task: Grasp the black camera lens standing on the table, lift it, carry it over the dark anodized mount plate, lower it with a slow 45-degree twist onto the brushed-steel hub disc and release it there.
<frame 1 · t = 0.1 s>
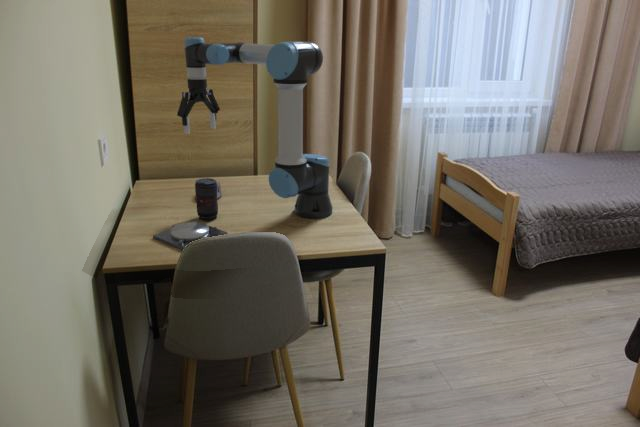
hand: (200, 131, 212), 28 cm above the table, fingers open, 13 cm apart
caster wheel: (210, 197, 220), on the table
camera lens: (208, 218, 196), on the table
mount board: (190, 237, 179), on the table
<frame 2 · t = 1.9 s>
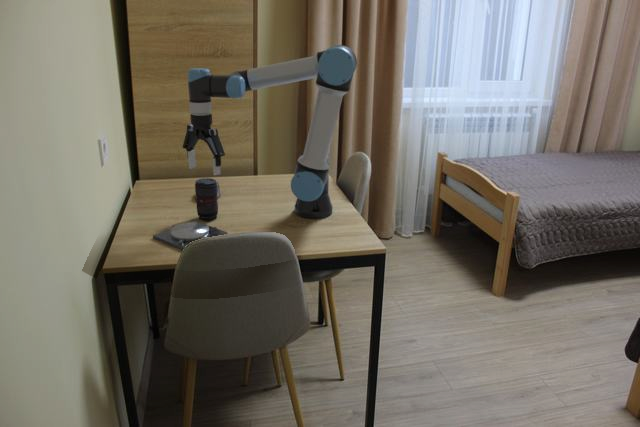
hand: (204, 171, 190), 19 cm above the table, fingers open, 13 cm apart
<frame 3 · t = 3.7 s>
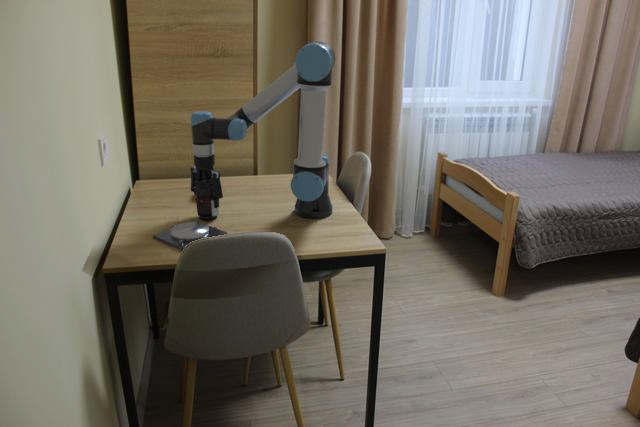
hand: (207, 212, 195), 2 cm above the table, fingers closed on camera lens, 8 cm apart
camera lens: (208, 218, 196), on the table, touching gripper
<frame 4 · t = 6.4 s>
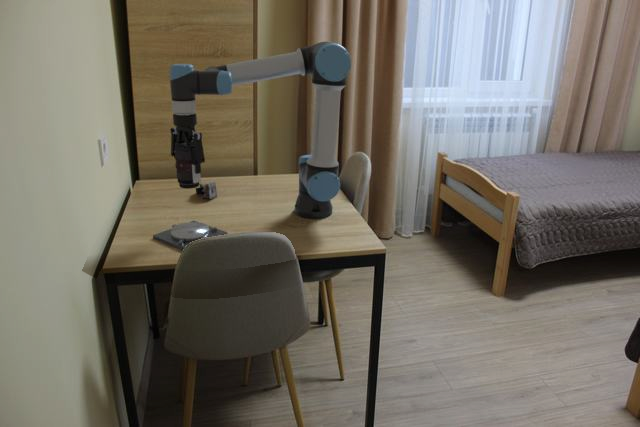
hand: (189, 179, 176), 20 cm above the table, fingers closed on camera lens, 8 cm apart
camera lens: (189, 186, 177), point 17 cm above the table, touching gripper
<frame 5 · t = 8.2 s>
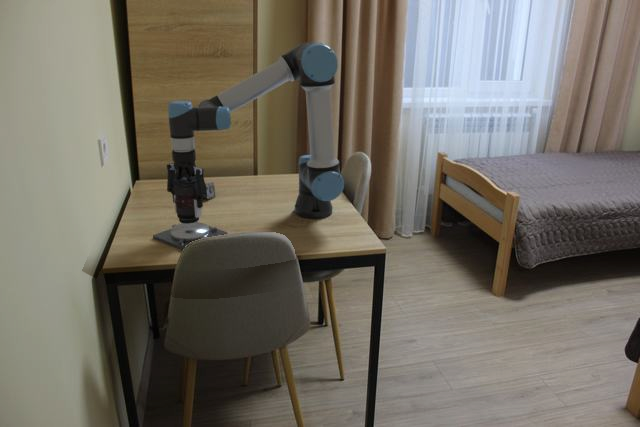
hand: (188, 214, 176), 9 cm above the table, fingers closed on camera lens, 8 cm apart
camera lens: (189, 220, 177), point 6 cm above the table, touching gripper
when the fingers open (6 cm above the table, at t = 9.2 s): camera lens stays where it is, resting on mount board.
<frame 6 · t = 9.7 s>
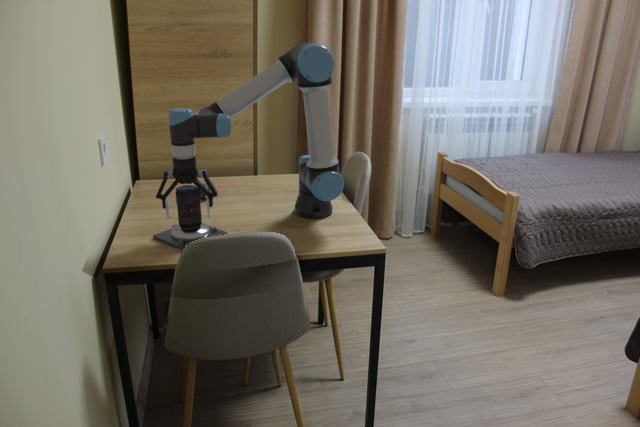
hand: (188, 216, 176), 8 cm above the table, fingers open, 13 cm apart
camera lens: (191, 229, 178), point 3 cm above the table, touching mount board
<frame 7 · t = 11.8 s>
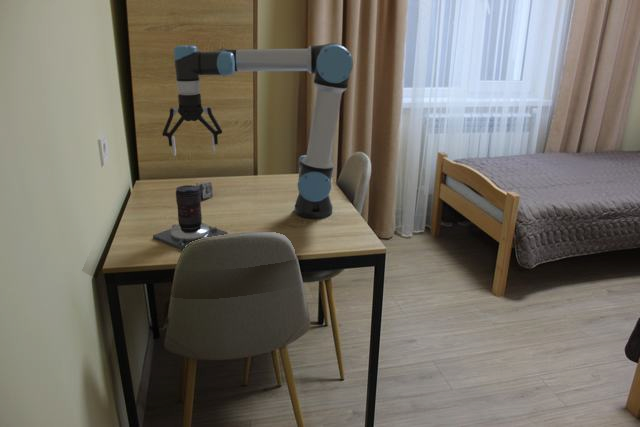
hand: (194, 154, 181), 27 cm above the table, fingers open, 13 cm apart
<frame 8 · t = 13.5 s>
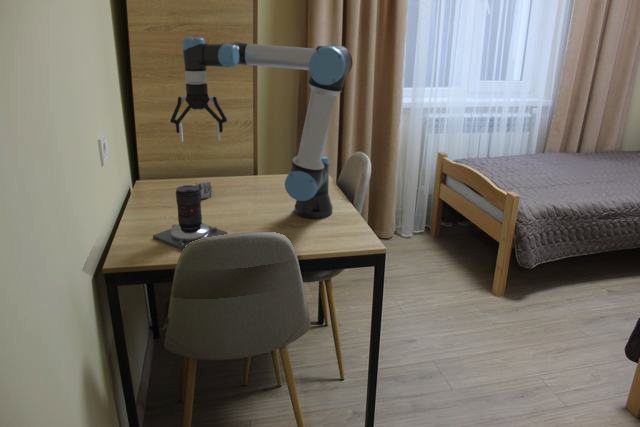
hand: (200, 141, 191), 29 cm above the table, fingers open, 13 cm apart
at the end: camera lens 0.4 cm from the mount board (horizontally); camera lens touching mount board; camera lens tilted 0° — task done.
